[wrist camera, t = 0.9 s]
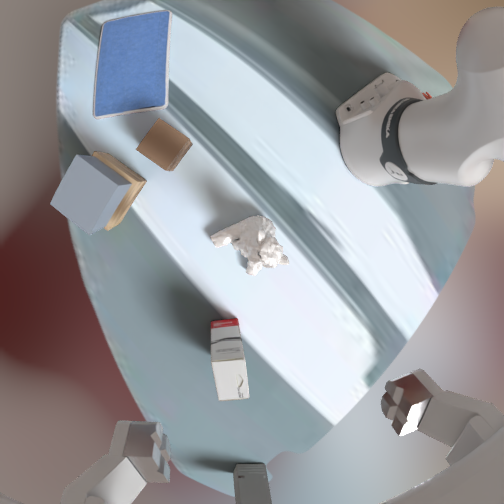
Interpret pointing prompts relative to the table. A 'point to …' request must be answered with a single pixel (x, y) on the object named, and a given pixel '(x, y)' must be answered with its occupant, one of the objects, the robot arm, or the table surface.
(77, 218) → the slate block
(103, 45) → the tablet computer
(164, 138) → the walnut block
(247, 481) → the skincare box
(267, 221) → the seated beast figurine
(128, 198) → the oak block
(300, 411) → the table surface
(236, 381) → the ink box
